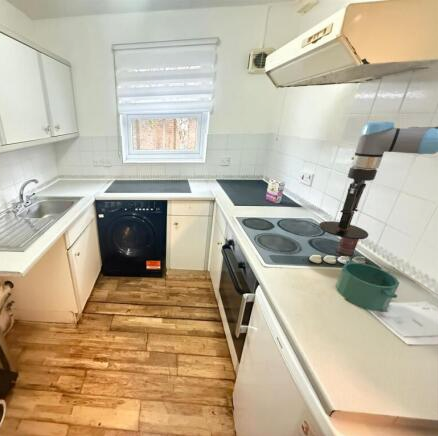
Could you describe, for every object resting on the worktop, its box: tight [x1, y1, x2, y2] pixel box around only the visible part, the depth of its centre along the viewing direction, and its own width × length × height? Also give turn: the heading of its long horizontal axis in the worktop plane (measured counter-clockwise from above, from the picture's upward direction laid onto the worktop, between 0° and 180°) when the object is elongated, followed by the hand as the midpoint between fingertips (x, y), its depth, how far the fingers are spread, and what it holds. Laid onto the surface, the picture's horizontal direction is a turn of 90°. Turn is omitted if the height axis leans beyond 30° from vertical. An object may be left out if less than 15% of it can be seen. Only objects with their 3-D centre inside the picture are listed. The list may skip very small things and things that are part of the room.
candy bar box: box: [264, 178, 286, 205], centre depth 181 cm, size 11×5×16 cm, turn 15°
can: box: [336, 237, 360, 258], centre depth 110 cm, size 6×6×14 cm
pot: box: [335, 259, 400, 311], centre depth 85 cm, size 15×20×10 cm
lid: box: [318, 210, 369, 240], centre depth 93 cm, size 16×16×9 cm
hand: (343, 227), depth 94 cm, fingers closed on lid, 3 cm apart
